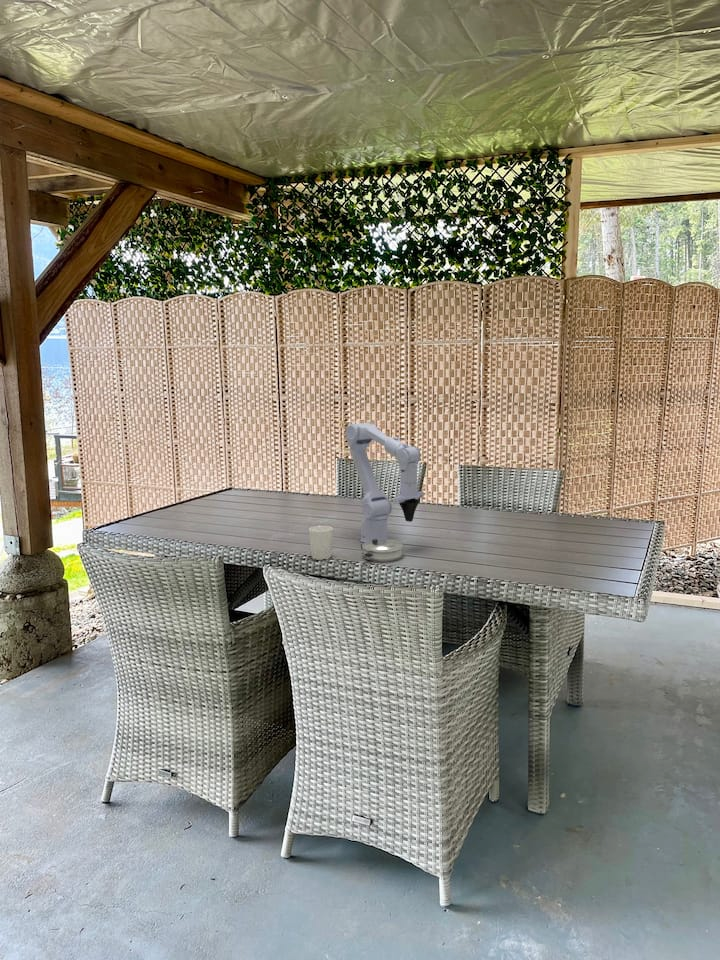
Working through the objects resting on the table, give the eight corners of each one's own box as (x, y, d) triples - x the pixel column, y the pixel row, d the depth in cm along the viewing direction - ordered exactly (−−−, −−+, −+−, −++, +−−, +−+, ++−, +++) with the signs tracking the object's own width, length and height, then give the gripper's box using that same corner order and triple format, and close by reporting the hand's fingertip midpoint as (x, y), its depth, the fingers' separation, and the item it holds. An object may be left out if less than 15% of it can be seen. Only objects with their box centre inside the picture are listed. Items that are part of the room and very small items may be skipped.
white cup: (338, 556, 233) (337, 527, 231) (321, 562, 227) (320, 532, 226) (321, 552, 238) (320, 524, 237) (305, 557, 232) (304, 529, 231)
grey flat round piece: (348, 557, 231) (348, 548, 231) (379, 547, 243) (378, 539, 243) (382, 565, 222) (382, 556, 221) (412, 554, 233) (412, 545, 233)
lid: (354, 548, 231) (353, 542, 230) (380, 540, 241) (379, 534, 240) (385, 554, 222) (385, 548, 221) (411, 546, 232) (410, 539, 231)
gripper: (404, 486, 227) (405, 526, 230) (430, 480, 238) (430, 518, 240) (388, 484, 232) (388, 523, 234) (414, 478, 243) (414, 516, 245)
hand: (409, 521), depth 238 cm, fingers closed
